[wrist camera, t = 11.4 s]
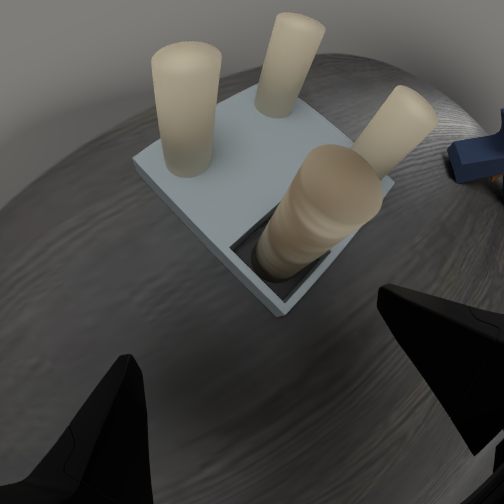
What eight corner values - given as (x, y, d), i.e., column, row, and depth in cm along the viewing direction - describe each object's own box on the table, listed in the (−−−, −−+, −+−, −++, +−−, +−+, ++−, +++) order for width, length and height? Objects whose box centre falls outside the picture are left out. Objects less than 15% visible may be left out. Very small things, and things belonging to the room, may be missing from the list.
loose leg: (305, 257, 24) (393, 184, 12) (278, 292, 23) (360, 242, 11) (270, 228, 25) (330, 131, 12) (241, 261, 23) (284, 177, 11)
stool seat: (382, 193, 28) (458, 124, 16) (276, 317, 22) (361, 292, 10) (266, 92, 30) (293, 3, 17) (137, 173, 24) (105, 61, 12)
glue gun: (463, 224, 44) (523, 212, 33) (446, 141, 23) (549, 119, 12) (458, 196, 45) (516, 184, 35) (430, 101, 24) (525, 80, 14)
